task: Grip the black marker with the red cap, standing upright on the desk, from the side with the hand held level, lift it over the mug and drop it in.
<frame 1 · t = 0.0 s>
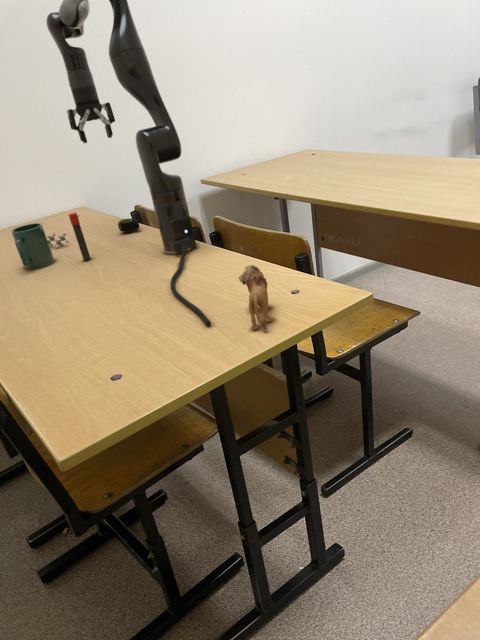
hand: (97, 140, 174), 29 cm above the table, tool pointing down, fingers open, 8 cm apart
mug: (40, 264, 162), on the table
marker: (87, 259, 158), on the table
brown animal figure: (259, 316, 106), on the table
molecular model: (52, 248, 178), on the table
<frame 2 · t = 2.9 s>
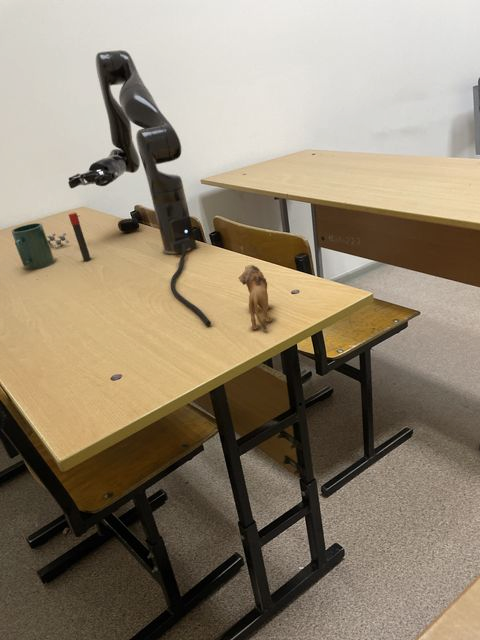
hand: (83, 183, 158), 20 cm above the table, tool horizontal, fingers open, 8 cm apart
nothing on the table moved.
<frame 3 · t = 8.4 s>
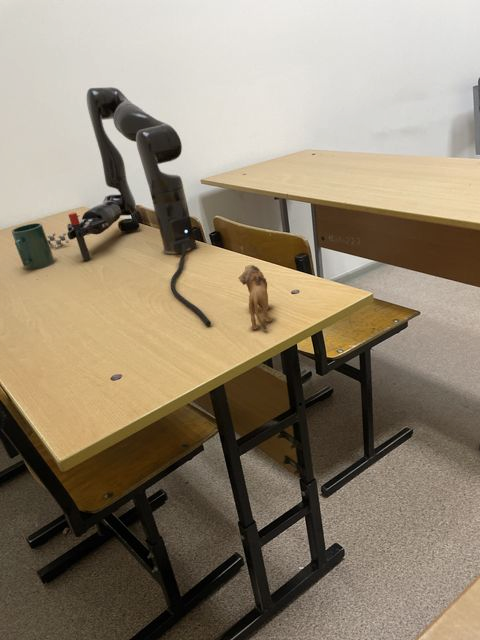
hand: (73, 235, 152), 8 cm above the table, tool horizontal, fingers closed on marker, 2 cm apart
marker: (87, 259, 158), on the table, touching gripper
everything else where it was.
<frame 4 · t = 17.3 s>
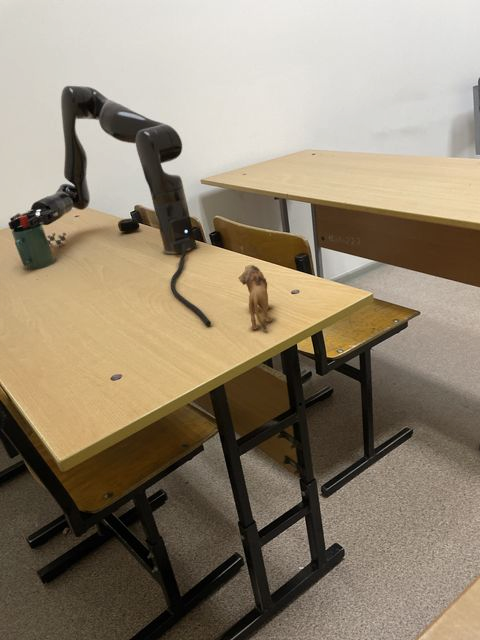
hand: (20, 225, 154), 13 cm above the table, tool horizontal, fingers open, 5 cm apart
marker: (39, 261, 162), point 1 cm above the table, touching mug
everything else where it was.
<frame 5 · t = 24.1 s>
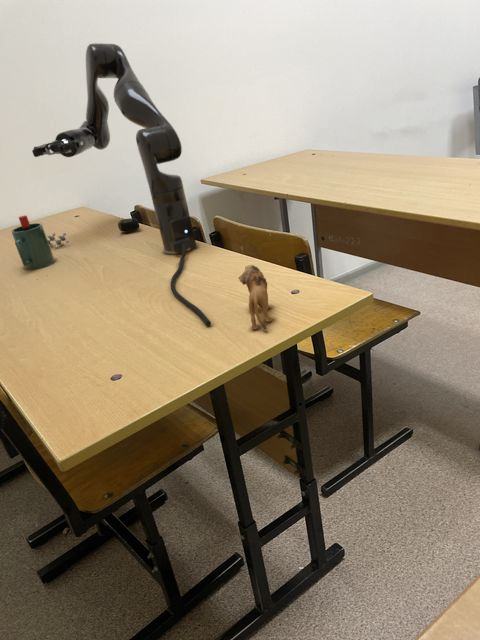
hand: (47, 151, 158), 30 cm above the table, tool horizontal, fingers open, 8 cm apart
nothing on the table moved.
at the end: marker inside the target area in the mug (0.0 cm from its centre), point 0.8 cm above the mug's base; the gripper is holding nothing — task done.
